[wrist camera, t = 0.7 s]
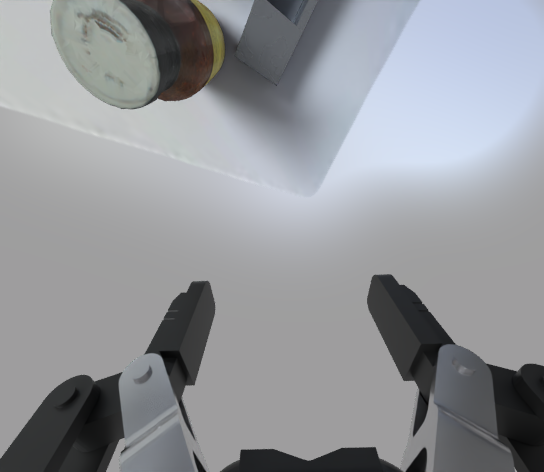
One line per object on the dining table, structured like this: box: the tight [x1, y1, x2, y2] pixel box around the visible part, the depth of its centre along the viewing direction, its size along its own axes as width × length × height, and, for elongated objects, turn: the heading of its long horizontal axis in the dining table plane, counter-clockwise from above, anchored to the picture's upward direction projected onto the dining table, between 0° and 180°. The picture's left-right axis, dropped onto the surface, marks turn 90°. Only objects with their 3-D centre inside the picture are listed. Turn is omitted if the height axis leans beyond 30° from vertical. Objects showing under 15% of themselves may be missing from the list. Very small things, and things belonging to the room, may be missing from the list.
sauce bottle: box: [50, 0, 225, 109], centre depth 16 cm, size 7×6×20 cm
